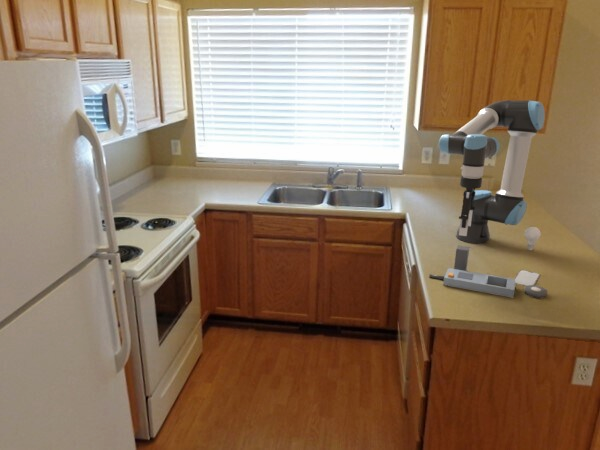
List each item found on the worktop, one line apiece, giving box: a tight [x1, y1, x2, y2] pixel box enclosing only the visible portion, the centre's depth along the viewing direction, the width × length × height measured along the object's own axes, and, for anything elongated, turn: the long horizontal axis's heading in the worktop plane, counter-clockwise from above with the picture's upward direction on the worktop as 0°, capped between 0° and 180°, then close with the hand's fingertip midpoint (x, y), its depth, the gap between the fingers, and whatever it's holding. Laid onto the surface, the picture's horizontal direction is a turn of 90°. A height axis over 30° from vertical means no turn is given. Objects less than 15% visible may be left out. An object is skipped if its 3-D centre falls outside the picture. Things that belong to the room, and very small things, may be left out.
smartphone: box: [513, 269, 541, 287], centre depth 179 cm, size 7×1×15 cm
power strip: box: [429, 267, 516, 299], centre depth 173 cm, size 10×30×4 cm, turn 64°
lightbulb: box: [524, 226, 542, 251], centre depth 206 cm, size 6×6×11 cm
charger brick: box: [453, 244, 470, 271], centre depth 184 cm, size 4×5×10 cm
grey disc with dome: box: [524, 285, 548, 299], centre depth 166 cm, size 7×7×2 cm
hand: (464, 230), depth 180 cm, fingers open, 13 cm apart
